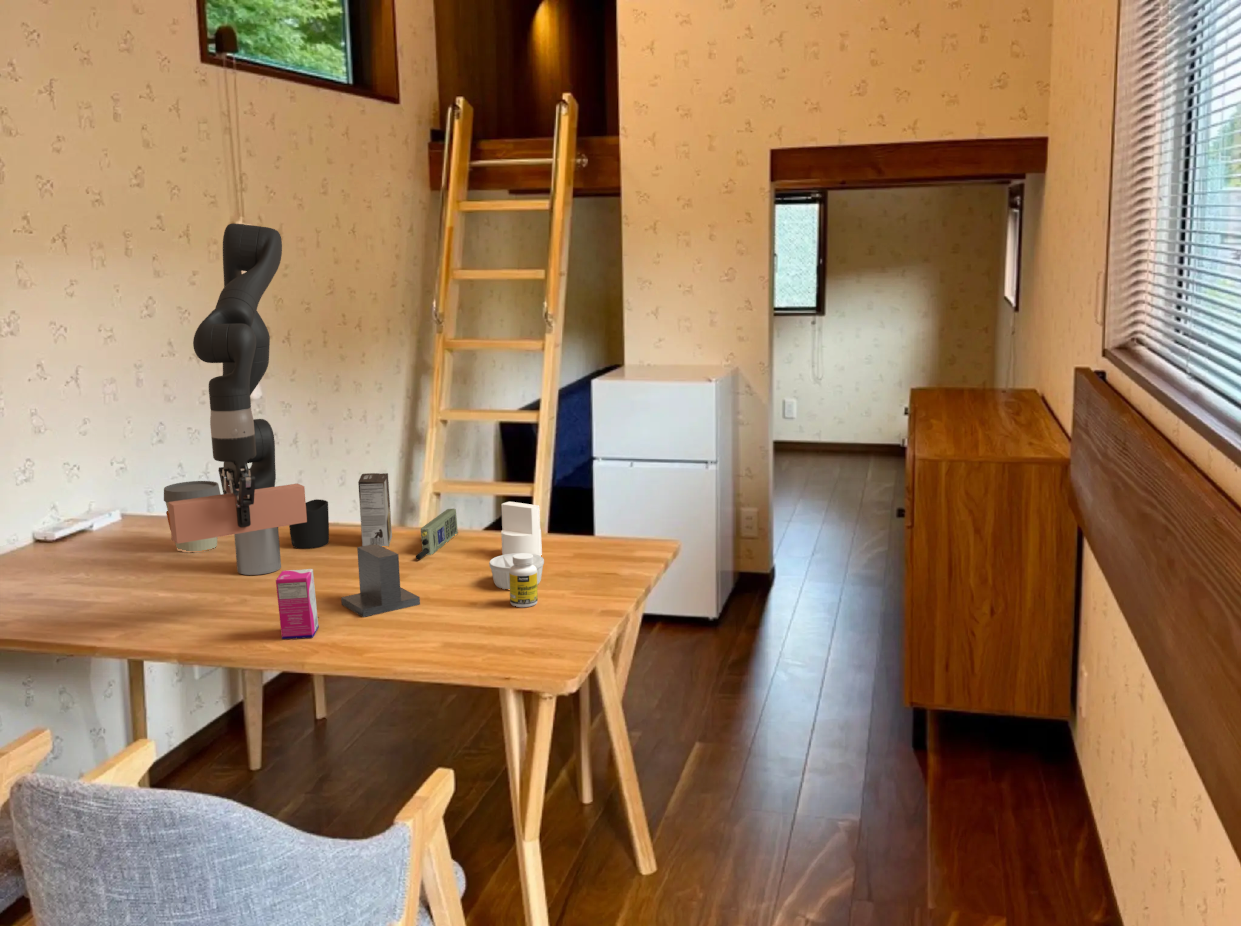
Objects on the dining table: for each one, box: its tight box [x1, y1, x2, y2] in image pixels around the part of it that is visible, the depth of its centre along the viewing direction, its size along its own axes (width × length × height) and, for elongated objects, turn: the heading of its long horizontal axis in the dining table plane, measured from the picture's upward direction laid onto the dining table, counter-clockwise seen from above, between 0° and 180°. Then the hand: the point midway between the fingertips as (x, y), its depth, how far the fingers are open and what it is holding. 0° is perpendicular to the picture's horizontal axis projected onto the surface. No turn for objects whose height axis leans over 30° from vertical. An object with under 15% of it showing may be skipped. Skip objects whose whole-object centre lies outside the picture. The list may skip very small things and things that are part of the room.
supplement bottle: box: [509, 553, 538, 608], centre depth 216 cm, size 5×5×10 cm
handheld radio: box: [415, 508, 459, 561], centre depth 258 cm, size 7×3×25 cm
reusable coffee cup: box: [163, 480, 221, 551], centre depth 260 cm, size 13×13×15 cm
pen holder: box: [288, 499, 330, 550], centre depth 262 cm, size 9×9×10 cm
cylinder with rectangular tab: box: [500, 501, 543, 556], centre depth 249 cm, size 9×9×12 cm
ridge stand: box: [340, 544, 421, 618], centre depth 216 cm, size 10×12×11 cm
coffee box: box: [357, 472, 393, 547], centre depth 262 cm, size 9×6×16 cm
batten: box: [168, 483, 307, 544], centre depth 204 cm, size 4×24×7 cm, turn 127°
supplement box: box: [275, 568, 319, 640], centre depth 201 cm, size 6×6×12 cm
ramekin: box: [488, 553, 545, 590], centre depth 229 cm, size 11×11×5 cm
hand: (240, 523), depth 205 cm, fingers closed on batten, 3 cm apart
